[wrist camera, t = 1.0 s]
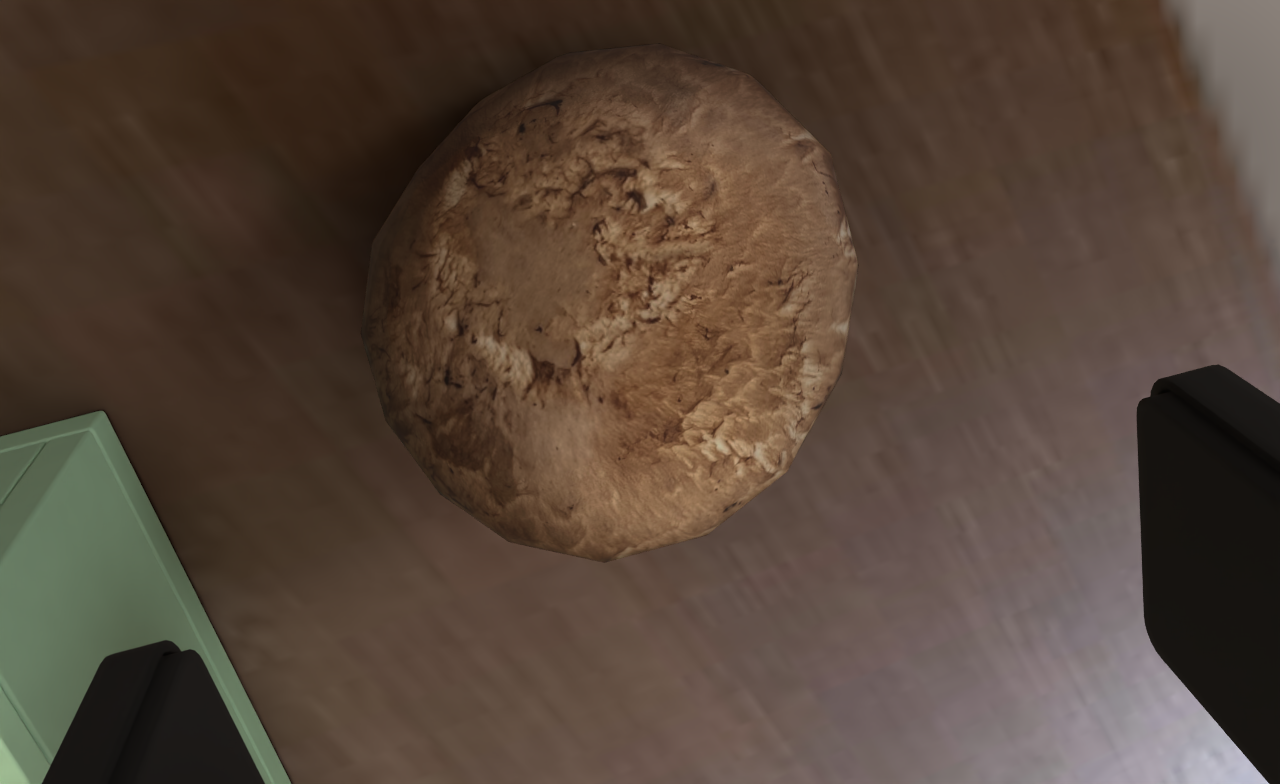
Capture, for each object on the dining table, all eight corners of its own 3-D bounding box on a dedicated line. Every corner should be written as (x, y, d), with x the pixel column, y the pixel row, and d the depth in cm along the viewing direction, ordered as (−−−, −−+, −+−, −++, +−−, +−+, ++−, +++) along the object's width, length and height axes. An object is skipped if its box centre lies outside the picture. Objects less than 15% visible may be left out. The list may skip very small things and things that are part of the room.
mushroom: (915, 516, 20) (855, 568, 14) (506, 543, 23) (312, 597, 17) (866, 66, 20) (787, -69, 14) (469, 147, 23) (264, 62, 17)
